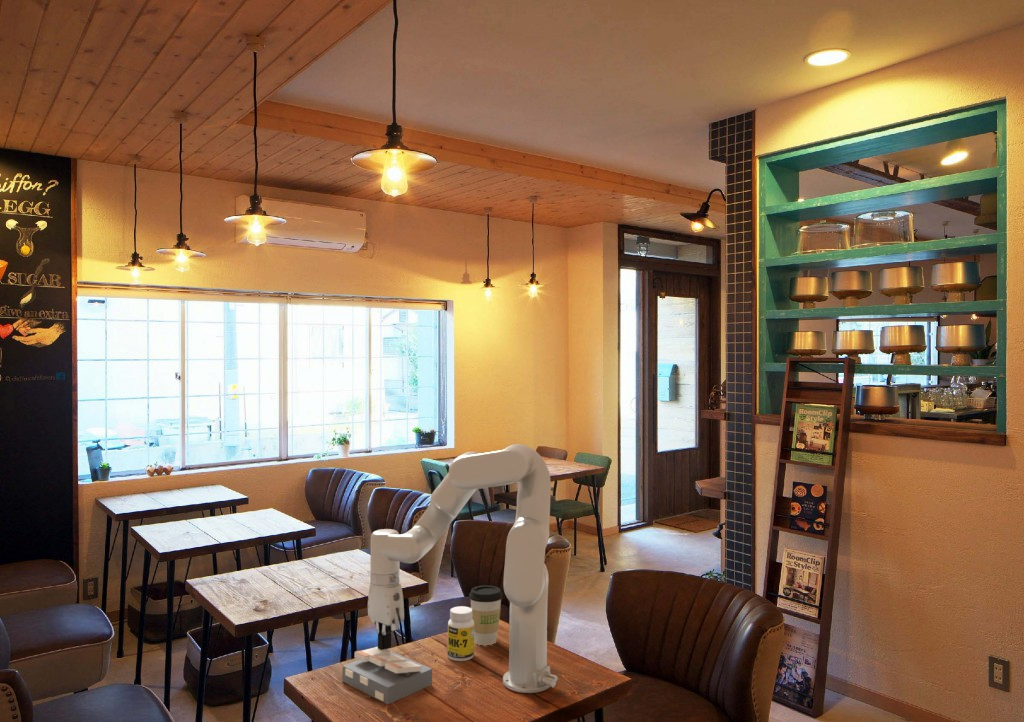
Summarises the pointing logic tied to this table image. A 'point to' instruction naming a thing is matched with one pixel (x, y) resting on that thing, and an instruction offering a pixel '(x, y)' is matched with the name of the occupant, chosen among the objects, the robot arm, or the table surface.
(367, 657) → the block
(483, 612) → the coffee cup
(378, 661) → the rocker
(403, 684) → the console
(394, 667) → the block
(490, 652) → the table surface
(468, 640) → the supplement bottle
